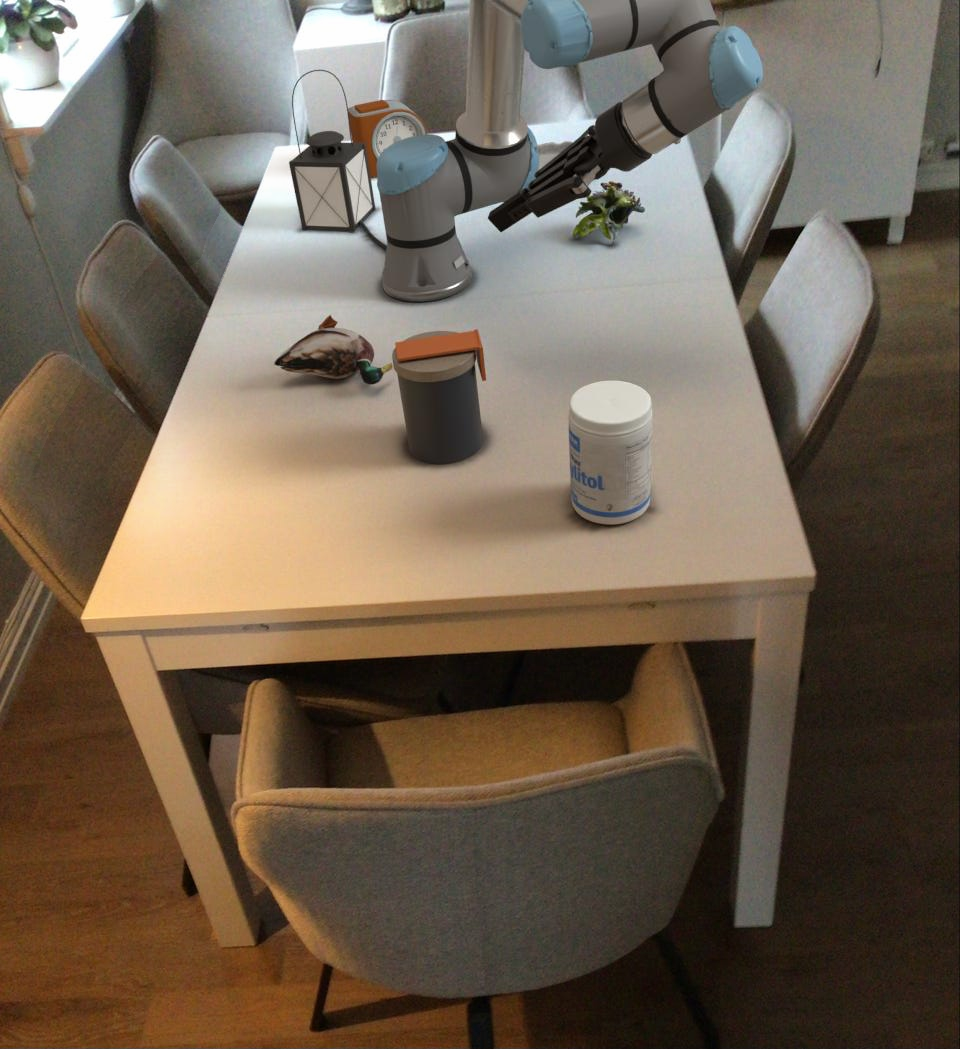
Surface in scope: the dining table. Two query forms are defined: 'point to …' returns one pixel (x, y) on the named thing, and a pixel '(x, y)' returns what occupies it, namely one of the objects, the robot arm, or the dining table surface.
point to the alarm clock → (382, 127)
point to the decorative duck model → (332, 354)
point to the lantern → (332, 181)
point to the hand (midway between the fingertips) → (495, 222)
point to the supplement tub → (610, 451)
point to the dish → (550, 151)
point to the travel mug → (440, 404)
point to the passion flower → (607, 210)
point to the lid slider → (443, 347)
